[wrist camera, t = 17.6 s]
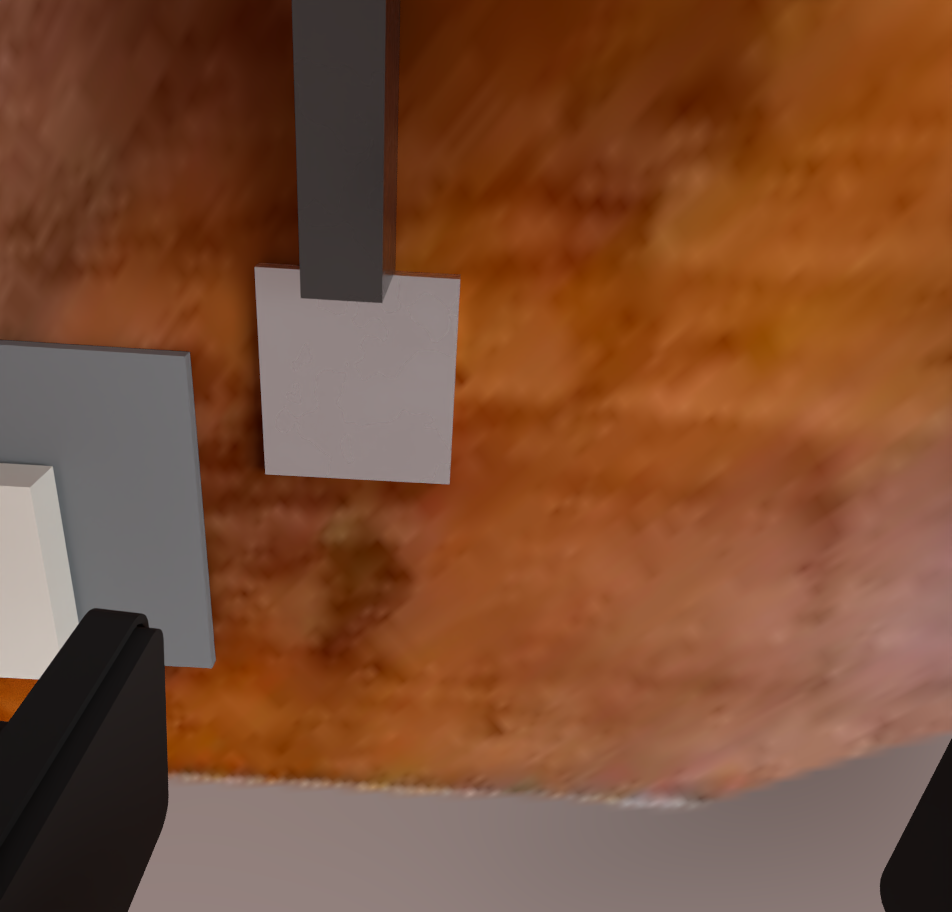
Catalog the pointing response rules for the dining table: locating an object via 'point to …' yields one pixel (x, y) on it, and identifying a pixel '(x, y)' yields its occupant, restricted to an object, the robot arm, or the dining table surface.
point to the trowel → (353, 275)
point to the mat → (118, 478)
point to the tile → (32, 572)
